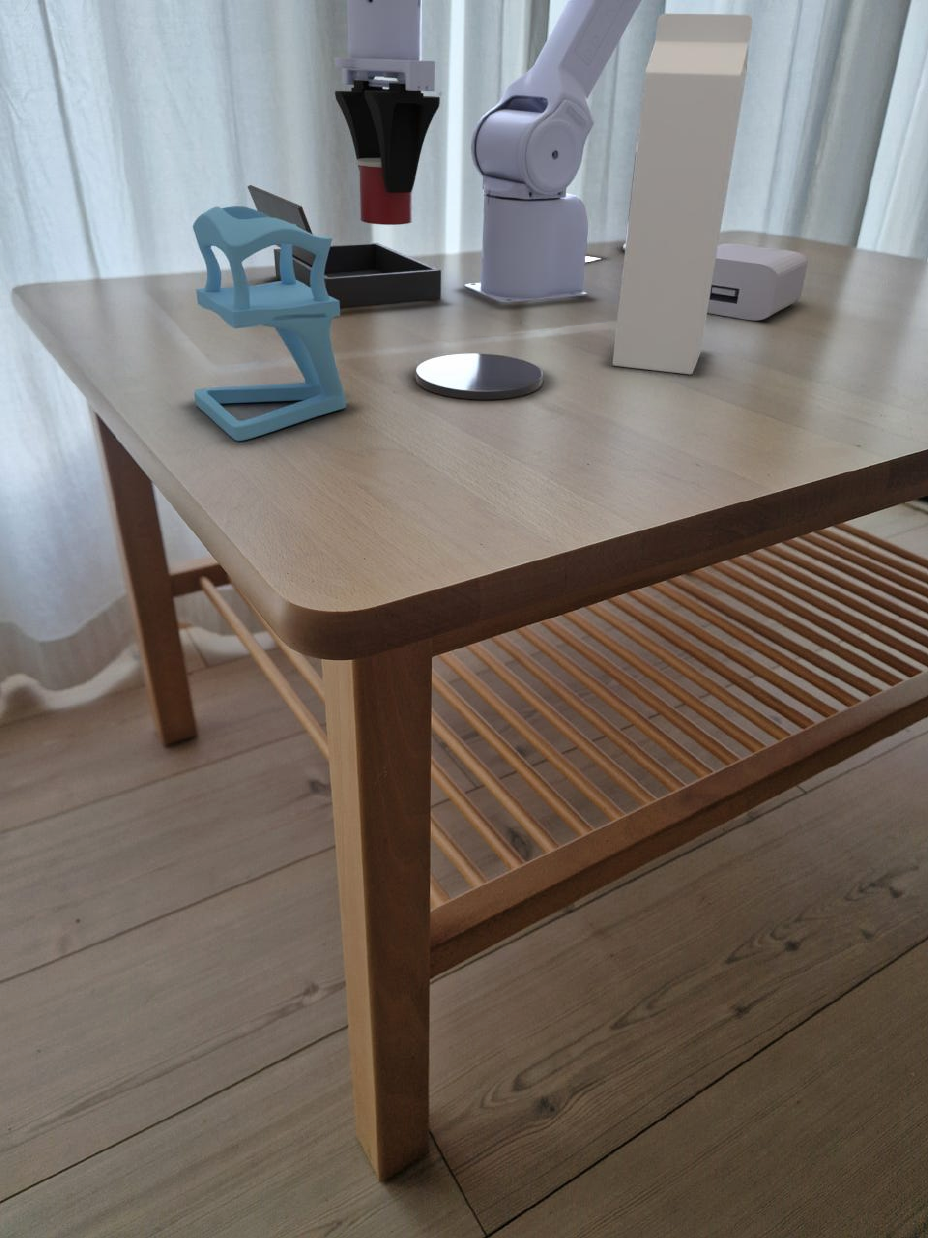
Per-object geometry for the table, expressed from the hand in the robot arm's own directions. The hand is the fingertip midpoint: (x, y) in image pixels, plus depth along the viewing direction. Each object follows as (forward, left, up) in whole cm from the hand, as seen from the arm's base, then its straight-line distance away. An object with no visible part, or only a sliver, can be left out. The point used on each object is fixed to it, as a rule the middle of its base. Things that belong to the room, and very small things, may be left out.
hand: (386, 188), depth 75 cm
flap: (+7, -7, -4) cm, 11 cm away
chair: (+17, +23, -10) cm, 30 cm away
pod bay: (0, -7, -10) cm, 12 cm away
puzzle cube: (-28, -15, -10) cm, 33 cm away
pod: (0, 0, -3) cm, 2 cm away
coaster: (+2, +22, -10) cm, 24 cm away
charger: (-34, +10, -10) cm, 36 cm away
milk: (-13, +23, -10) cm, 28 cm away
